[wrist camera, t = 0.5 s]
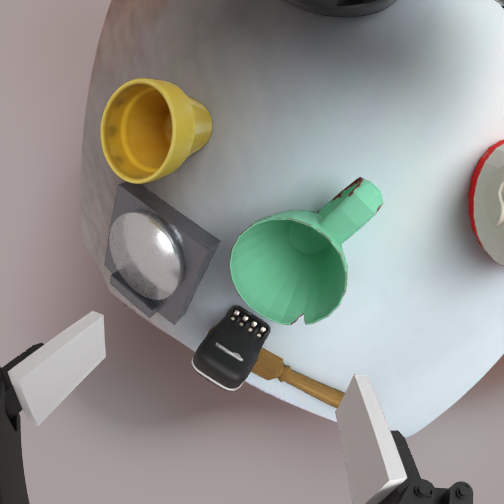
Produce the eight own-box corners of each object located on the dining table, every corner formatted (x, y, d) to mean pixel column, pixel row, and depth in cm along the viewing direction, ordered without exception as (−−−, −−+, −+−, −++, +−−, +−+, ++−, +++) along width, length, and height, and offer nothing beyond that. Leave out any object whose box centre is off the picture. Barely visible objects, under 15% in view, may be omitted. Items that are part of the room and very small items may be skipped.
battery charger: (278, 324, 37) (245, 385, 28) (266, 339, 39) (233, 398, 30) (235, 297, 38) (191, 351, 28) (226, 314, 40) (184, 366, 31)
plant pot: (246, 124, 28) (196, 124, 20) (191, 184, 33) (137, 206, 25) (190, 69, 27) (131, 59, 19) (145, 130, 33) (88, 139, 24)
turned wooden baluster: (363, 424, 36) (202, 343, 41) (365, 410, 39) (211, 331, 43) (375, 416, 35) (206, 331, 39) (376, 402, 37) (216, 319, 42)
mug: (311, 287, 33) (289, 342, 25) (251, 231, 33) (209, 270, 25) (404, 206, 25) (422, 243, 17) (336, 137, 25) (323, 138, 17)
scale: (133, 179, 37) (108, 188, 32) (220, 241, 35) (199, 257, 31) (116, 260, 46) (96, 272, 41) (183, 315, 44) (166, 333, 40)
